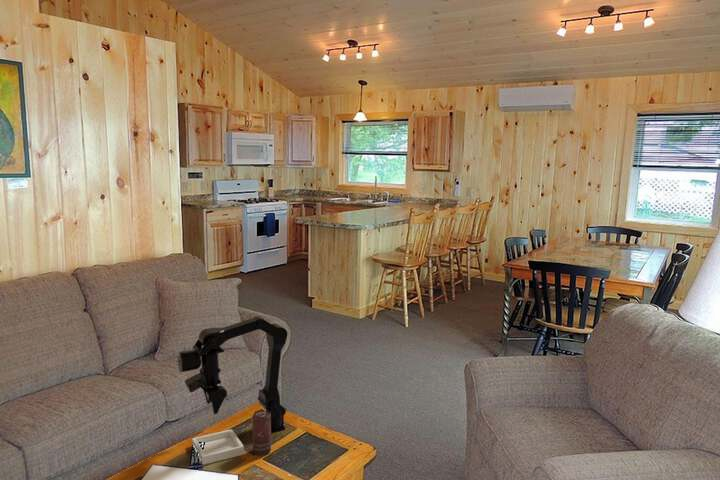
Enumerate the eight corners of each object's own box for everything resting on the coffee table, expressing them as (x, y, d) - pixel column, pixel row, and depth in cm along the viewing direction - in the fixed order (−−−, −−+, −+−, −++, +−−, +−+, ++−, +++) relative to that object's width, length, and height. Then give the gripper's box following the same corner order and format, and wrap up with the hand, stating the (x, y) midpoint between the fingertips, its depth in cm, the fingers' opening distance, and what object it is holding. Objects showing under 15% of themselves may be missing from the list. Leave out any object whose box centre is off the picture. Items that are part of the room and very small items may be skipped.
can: (273, 447, 184) (273, 409, 182) (268, 456, 177) (268, 417, 176) (256, 446, 184) (256, 408, 183) (250, 455, 178) (250, 416, 176)
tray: (231, 436, 191) (231, 429, 190) (244, 454, 179) (244, 446, 178) (192, 445, 184) (192, 438, 183) (202, 465, 172) (202, 457, 171)
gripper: (180, 361, 185) (182, 403, 188) (192, 380, 169) (194, 425, 172) (212, 356, 191) (214, 396, 193) (226, 373, 175) (228, 417, 177)
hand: (212, 408), depth 184 cm, fingers open, 9 cm apart
